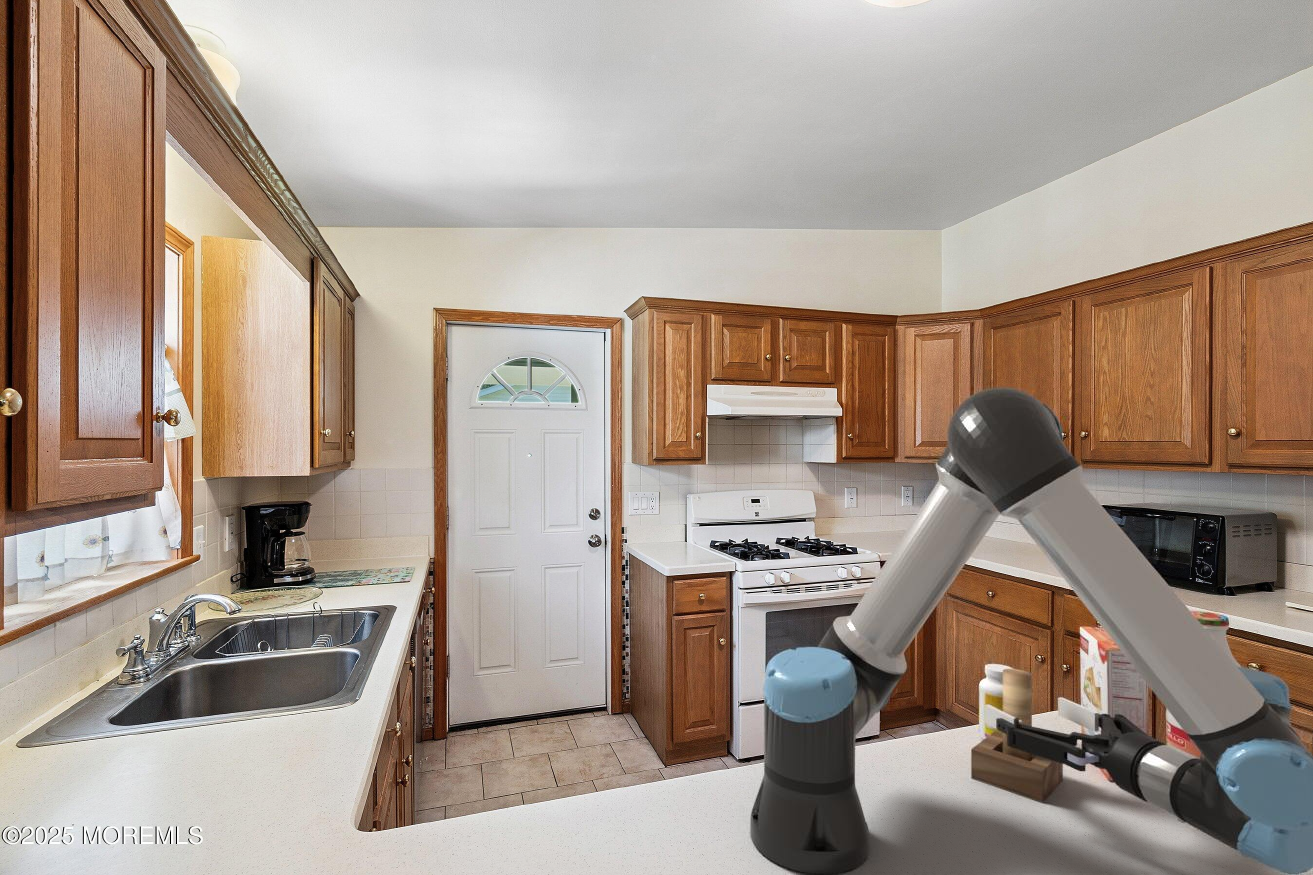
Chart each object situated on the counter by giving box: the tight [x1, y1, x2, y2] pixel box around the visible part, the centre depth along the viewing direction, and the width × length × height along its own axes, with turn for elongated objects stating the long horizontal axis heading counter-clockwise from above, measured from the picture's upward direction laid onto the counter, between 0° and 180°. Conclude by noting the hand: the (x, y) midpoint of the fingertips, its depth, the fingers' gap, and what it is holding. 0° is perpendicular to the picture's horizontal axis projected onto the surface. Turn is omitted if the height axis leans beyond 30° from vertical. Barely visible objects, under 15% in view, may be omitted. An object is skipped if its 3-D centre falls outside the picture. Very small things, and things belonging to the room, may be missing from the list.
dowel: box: [1003, 668, 1033, 761], centre depth 104 cm, size 4×4×16 cm
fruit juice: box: [1165, 610, 1242, 758], centre depth 96 cm, size 9×9×28 cm
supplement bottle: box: [978, 663, 1014, 741], centre depth 118 cm, size 7×7×13 cm
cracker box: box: [1079, 626, 1150, 783], centre depth 110 cm, size 14×6×21 cm, turn 162°
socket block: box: [970, 731, 1064, 804], centre depth 104 cm, size 10×10×4 cm
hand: (1023, 709), depth 103 cm, fingers open, 13 cm apart
